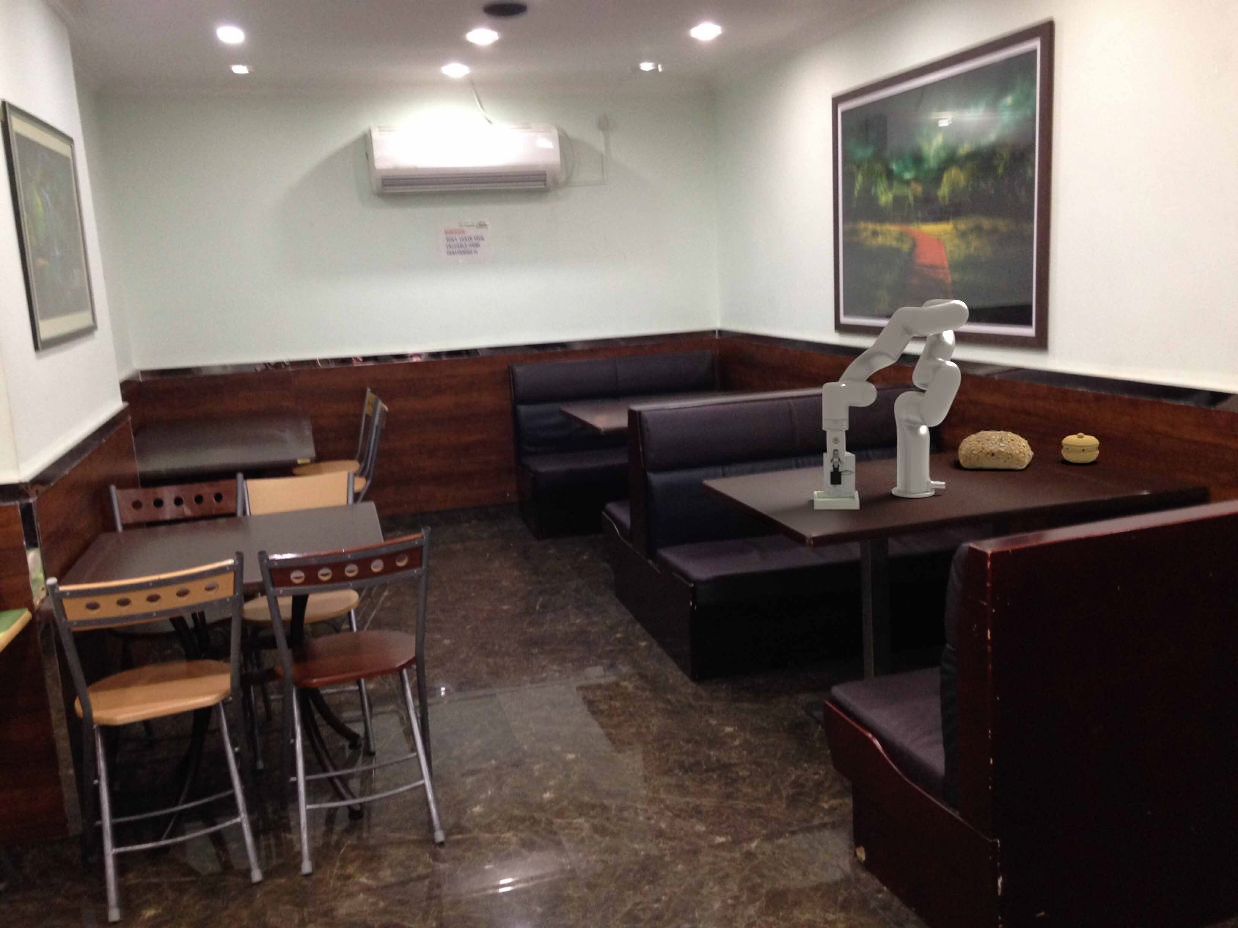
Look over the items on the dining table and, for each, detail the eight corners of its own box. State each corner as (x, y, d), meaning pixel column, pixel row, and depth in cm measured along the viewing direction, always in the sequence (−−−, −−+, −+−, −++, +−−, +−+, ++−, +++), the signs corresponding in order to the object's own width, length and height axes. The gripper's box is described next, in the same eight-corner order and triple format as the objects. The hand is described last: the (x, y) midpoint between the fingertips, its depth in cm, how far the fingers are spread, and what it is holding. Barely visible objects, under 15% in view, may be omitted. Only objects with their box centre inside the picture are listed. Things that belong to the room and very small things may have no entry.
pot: (1053, 461, 357) (1054, 432, 355) (1081, 457, 360) (1082, 429, 358) (1077, 466, 346) (1078, 437, 344) (1106, 463, 349) (1107, 434, 347)
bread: (956, 470, 350) (956, 435, 347) (959, 458, 369) (960, 425, 367) (1033, 472, 341) (1034, 436, 339) (1033, 460, 360) (1034, 426, 358)
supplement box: (832, 498, 306) (831, 456, 304) (823, 493, 314) (822, 452, 311) (855, 496, 308) (855, 454, 305) (846, 491, 315) (846, 450, 313)
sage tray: (857, 498, 316) (857, 490, 316) (859, 509, 304) (859, 500, 303) (814, 499, 319) (814, 491, 318) (814, 509, 306) (814, 501, 306)
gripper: (849, 428, 298) (849, 487, 301) (847, 419, 314) (847, 475, 318) (822, 429, 299) (823, 487, 302) (822, 420, 316) (822, 475, 319)
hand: (835, 481), depth 310 cm, fingers closed on supplement box, 8 cm apart
